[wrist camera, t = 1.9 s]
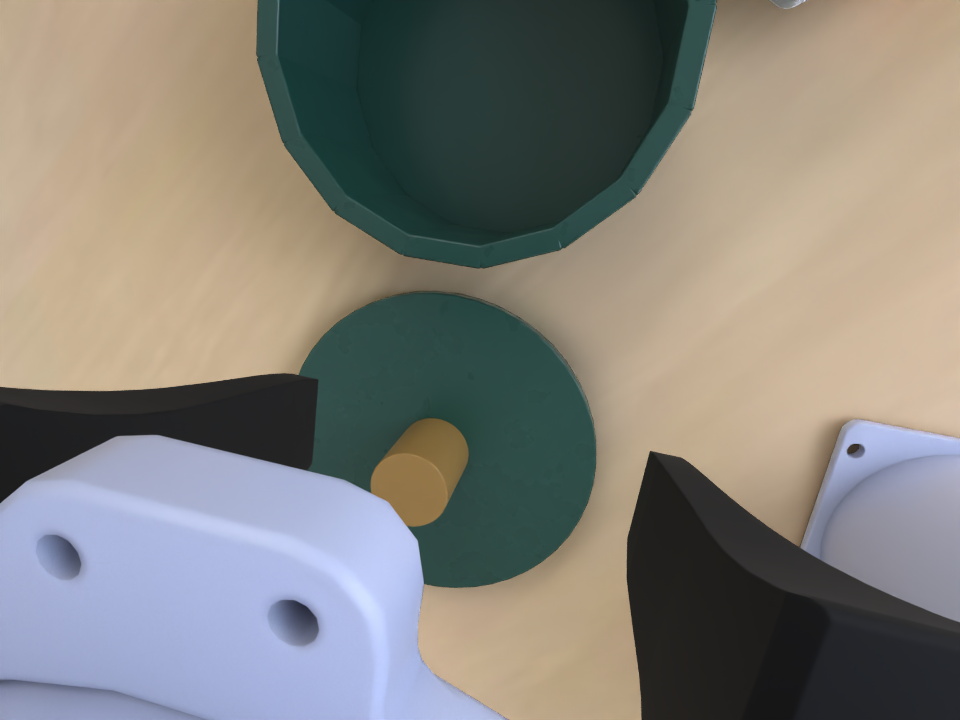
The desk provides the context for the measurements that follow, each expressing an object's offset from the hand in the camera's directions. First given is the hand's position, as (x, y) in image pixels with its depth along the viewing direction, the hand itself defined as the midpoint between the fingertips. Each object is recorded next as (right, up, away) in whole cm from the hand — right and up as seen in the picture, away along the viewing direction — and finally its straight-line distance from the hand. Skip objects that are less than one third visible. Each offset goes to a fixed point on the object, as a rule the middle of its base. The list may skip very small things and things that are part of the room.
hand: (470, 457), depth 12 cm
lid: (-1, -1, +10) cm, 10 cm away
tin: (+1, +11, +7) cm, 13 cm away
